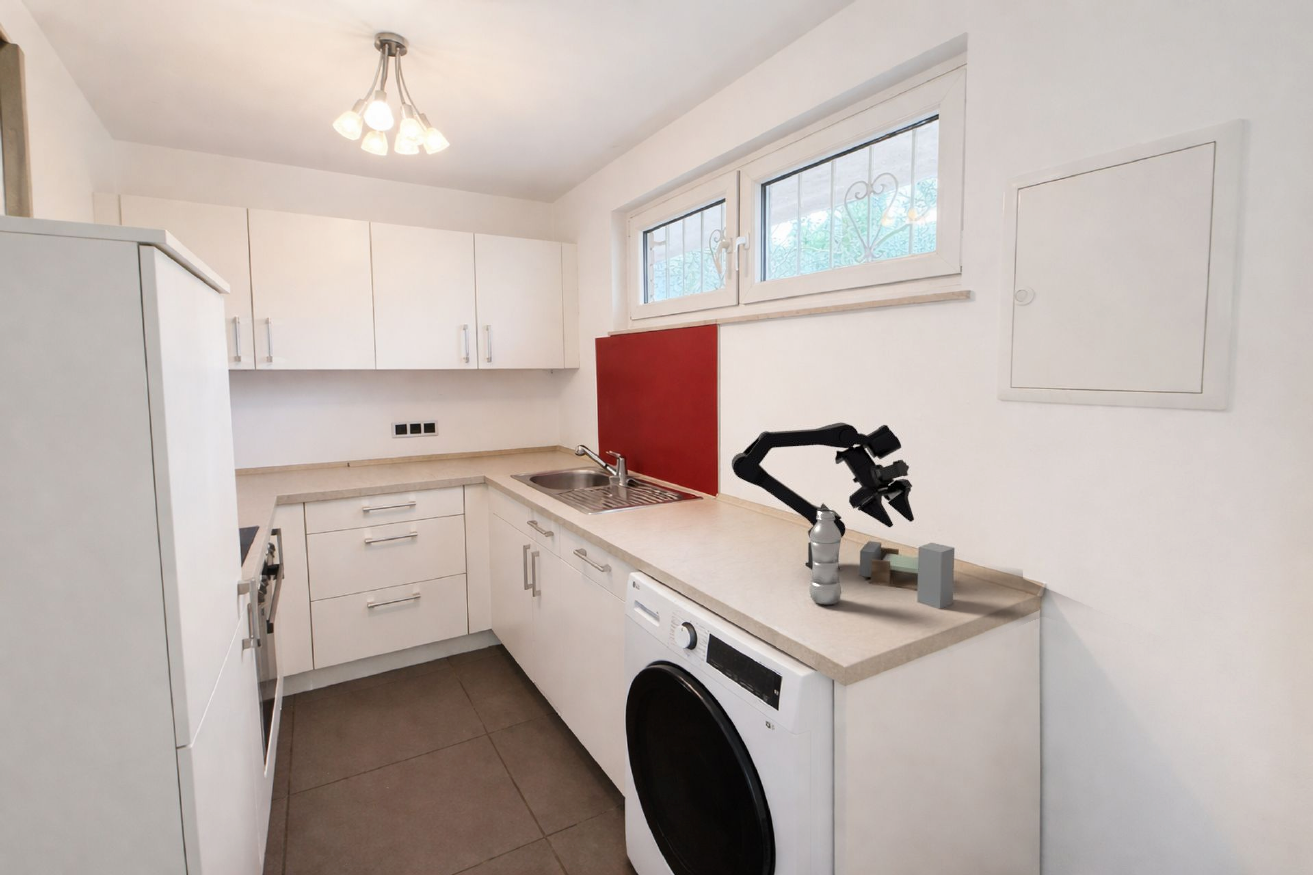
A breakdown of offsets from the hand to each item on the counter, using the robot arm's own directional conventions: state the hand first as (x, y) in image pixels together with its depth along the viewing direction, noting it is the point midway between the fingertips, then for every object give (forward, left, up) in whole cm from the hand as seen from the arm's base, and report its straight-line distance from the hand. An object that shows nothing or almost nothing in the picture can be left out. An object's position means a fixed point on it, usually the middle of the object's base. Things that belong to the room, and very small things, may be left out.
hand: (902, 523), depth 141 cm
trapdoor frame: (+2, -1, -14) cm, 14 cm away
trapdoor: (0, +1, -13) cm, 13 cm away
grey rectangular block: (-1, -14, -14) cm, 19 cm away
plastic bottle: (-23, -8, -14) cm, 28 cm away
